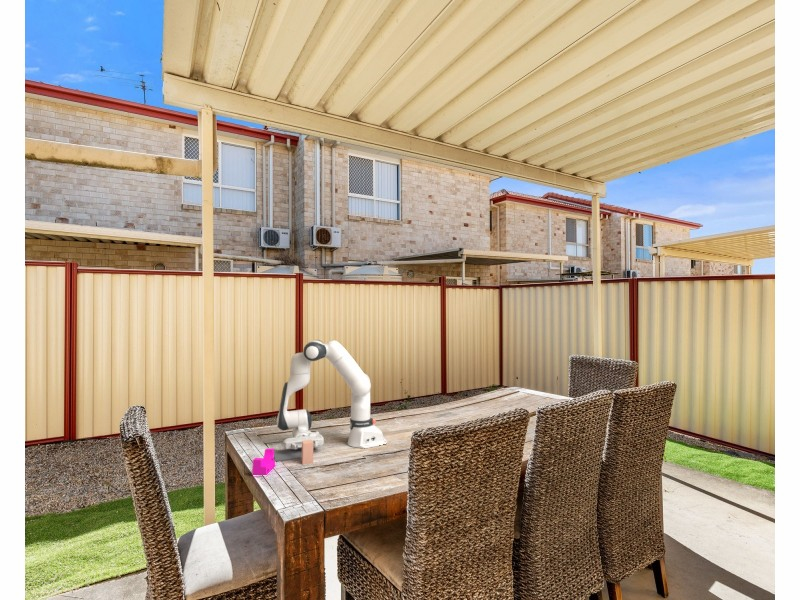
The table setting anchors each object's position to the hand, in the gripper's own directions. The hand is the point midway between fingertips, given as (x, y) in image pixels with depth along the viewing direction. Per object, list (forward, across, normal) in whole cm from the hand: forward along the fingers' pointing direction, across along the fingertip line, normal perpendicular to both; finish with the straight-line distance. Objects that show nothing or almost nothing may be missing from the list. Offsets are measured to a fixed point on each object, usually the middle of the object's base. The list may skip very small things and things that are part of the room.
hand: (305, 446), depth 201 cm
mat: (-6, -8, +6) cm, 11 cm away
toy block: (+9, -20, +6) cm, 22 cm away
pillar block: (+6, 0, +6) cm, 8 cm away
